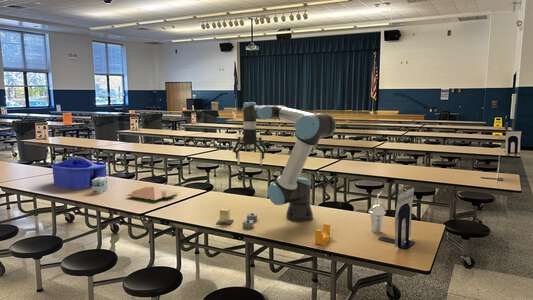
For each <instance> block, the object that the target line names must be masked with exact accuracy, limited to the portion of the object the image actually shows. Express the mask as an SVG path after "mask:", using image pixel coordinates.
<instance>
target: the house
mask: <svg viewBox="0 0 533 300" xmlns="http://www.w3.org/2000/svg"><path fill="white" fill-rule="evenodd" d="M177 194H179V192H178V191H174V190H169V189H165V188H159V187H155V186H145V187H142V188H141V187H140V188H139V189H136V190H135V189H134V190H133V191H131V193H130V194H125V195H126V197H132V198H133V200H136V199H137V200H140V201H142V199H143V202H144V201H145V202H148V201H149V202H150V203H151V202H152V203H154V201H156V202H158V201H159V202H160V200H161V201H164V200H165V199H169V198H170V199H171V198H174V196H176V195H177ZM149 199H150V200H149ZM163 199H164V200H163Z"/></svg>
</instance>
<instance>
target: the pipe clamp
mask: <svg viewBox="0 0 533 300" xmlns="http://www.w3.org/2000/svg"><path fill="white" fill-rule="evenodd" d="M314 231H315V232H314V235H315V236H314V238H315V239H314V243H315V244H317V245H321V246H325V245H326V244H327V243H328V242H329V241H330V236H331V223H328V222H327V223H326V222H324V223H323V228H322V229H320V228H316V229H315V230H314Z"/></svg>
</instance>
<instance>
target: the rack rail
mask: <svg viewBox="0 0 533 300" xmlns="http://www.w3.org/2000/svg"><path fill="white" fill-rule="evenodd" d="M257 220H258V214H257V213H252V212H251V213H247V216H246V219H244V220H243V221H242V229H253V228H254V226H255V225H254V223H256V222H257Z"/></svg>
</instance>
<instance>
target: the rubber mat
mask: <svg viewBox="0 0 533 300" xmlns="http://www.w3.org/2000/svg"><path fill="white" fill-rule="evenodd" d="M233 222H234V219H230V221H229V223H220V218H219V219H218V220H217V222H216V223H215V224H216V225H218V226H219V225H222V226H231V225H232V223H233Z"/></svg>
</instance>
